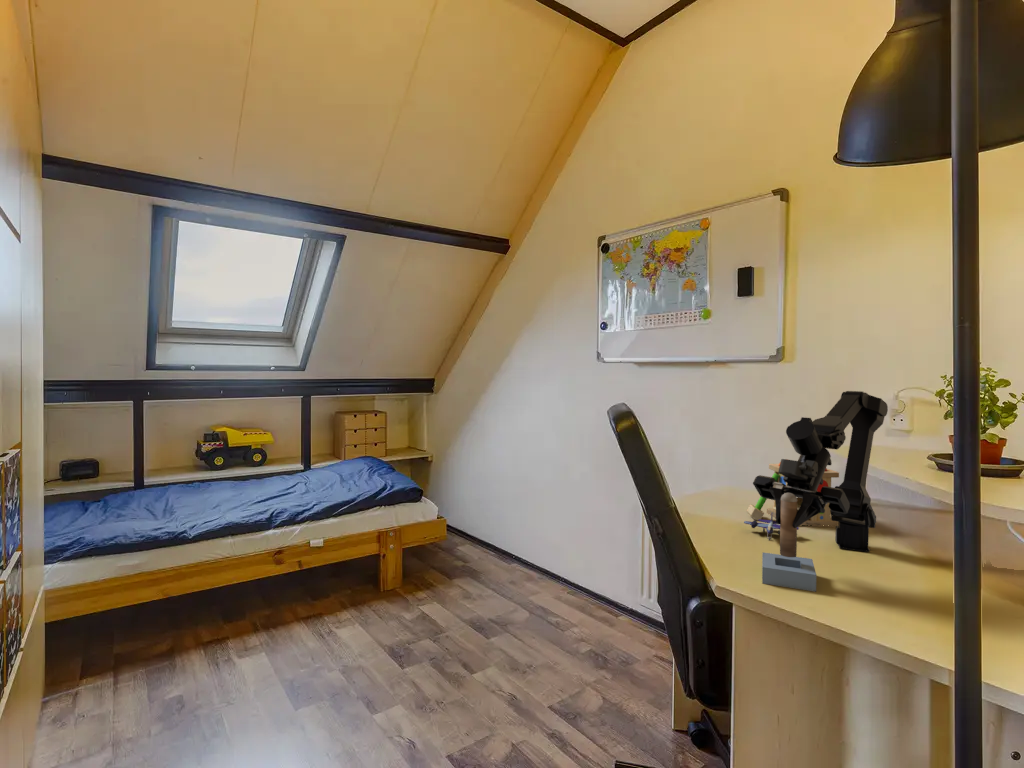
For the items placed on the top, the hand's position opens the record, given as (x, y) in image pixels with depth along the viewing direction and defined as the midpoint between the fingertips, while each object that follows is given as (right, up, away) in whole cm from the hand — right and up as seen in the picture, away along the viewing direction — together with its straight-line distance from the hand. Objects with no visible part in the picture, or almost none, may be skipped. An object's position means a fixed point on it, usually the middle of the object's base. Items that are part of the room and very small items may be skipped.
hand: (785, 525), depth 115 cm
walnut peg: (+1, -7, +1) cm, 7 cm away
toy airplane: (+12, -11, +30) cm, 35 cm away
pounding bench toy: (+25, -11, +47) cm, 54 cm away
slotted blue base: (+1, -12, +1) cm, 12 cm away
